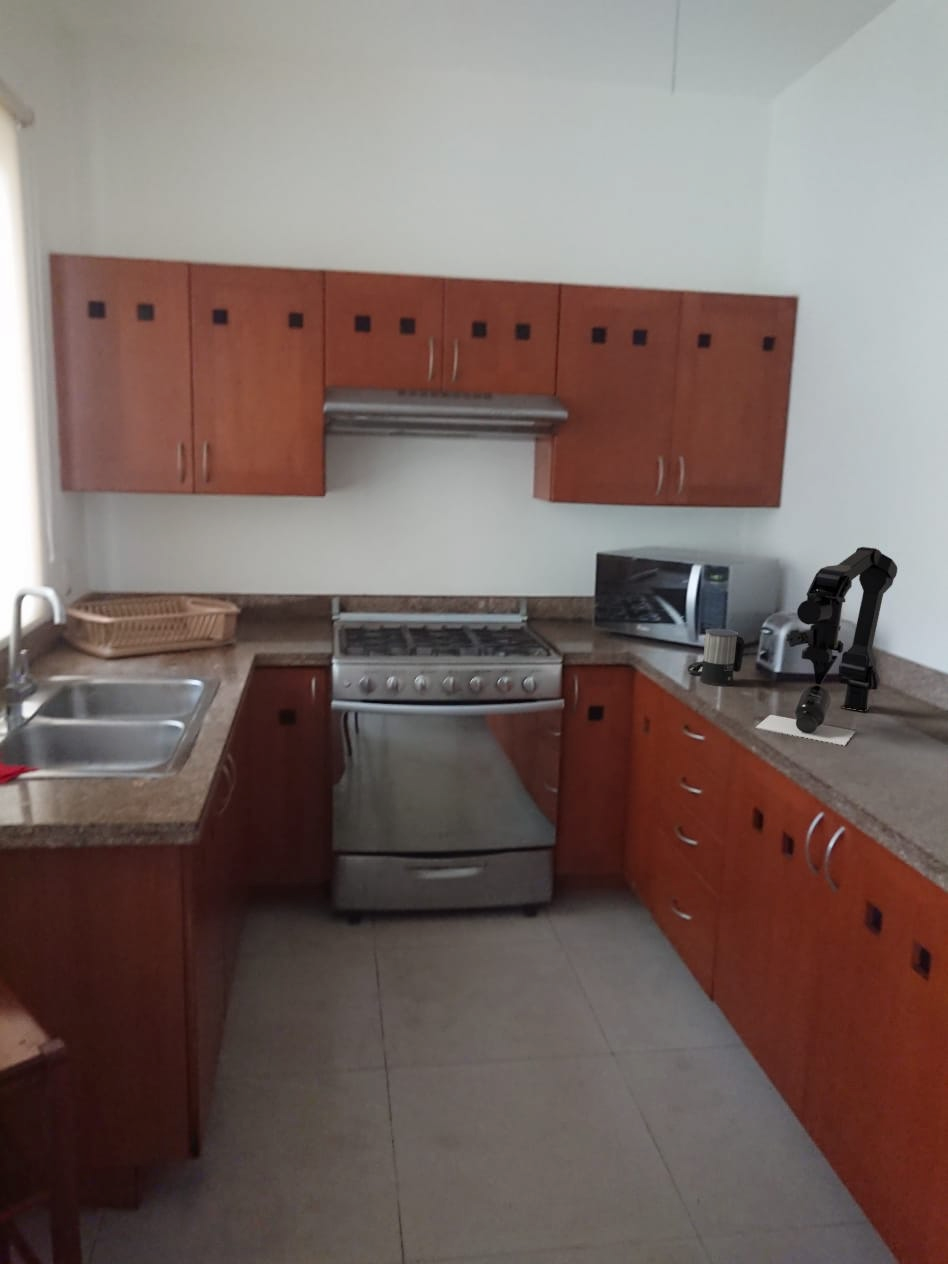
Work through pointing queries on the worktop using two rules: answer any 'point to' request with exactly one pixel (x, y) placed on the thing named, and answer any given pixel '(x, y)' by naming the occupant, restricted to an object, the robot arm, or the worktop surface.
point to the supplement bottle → (811, 708)
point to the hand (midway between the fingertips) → (818, 684)
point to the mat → (819, 734)
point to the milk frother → (719, 657)
